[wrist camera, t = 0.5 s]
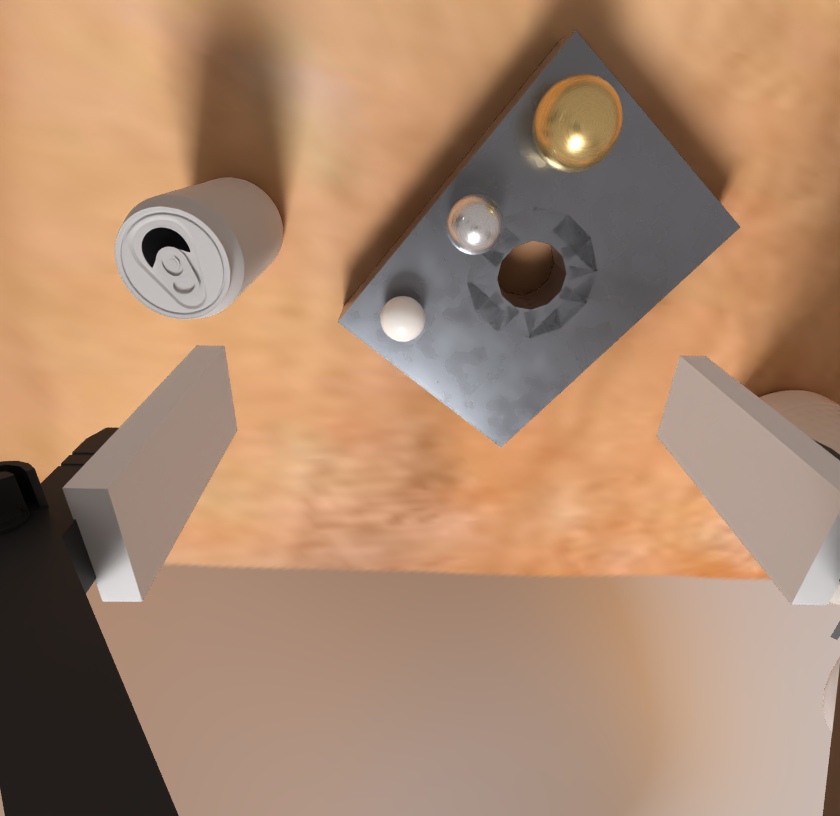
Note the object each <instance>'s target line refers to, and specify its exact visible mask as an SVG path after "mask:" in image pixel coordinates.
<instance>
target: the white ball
mask: <svg viewBox="0 0 840 816" xmlns="http://www.w3.org/2000/svg"><path fill="white" fill-rule="evenodd" d="M380 322H381V326H382V328H383V330H384V332H385V333H386V334H387V335H388V336H389V337H390V338H392V339H393V340H396V341H401V342H405V341H410V340H412V339H414V338H416V337H417V336H418V335H419V334H420V333H421V332H422V330H423V328H424V325H425V313H424V310H423V308H422V306H421V305H420V304H419V303H418V302H417V301H416V300H415V299H413V298H411V297H407V296H398V297H395V298H392V299H391V300H389V301H388V302H387V303H386V304H385V305H384V307H383V309H382V311H381V316H380Z"/></svg>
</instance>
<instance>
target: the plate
mask: <svg viewBox="0 0 840 816" xmlns="http://www.w3.org/2000/svg"><path fill="white" fill-rule="evenodd" d="M576 74H591V75H595V76H598V77H600V78H602V79H604V80H605V81H607V82H608V83H609V84H610V85H611V86H612V87H613V88H614V89H615V91H616V92H617V94H618V96H619V98H620V101H621V104H622V109H623V124H622V129H621V133H620V136H619V138H618V141H617V143H616V145H615V146H614V148H613V149H612V151H611V152H610V153H609V155H608V156H607V157H606V158H605V159H604V160H603V161H601V162H600V163H599V164H597V165H596V166H594V167H592V168H590V169H588V170H585V171H581V172H574V173H568V172H562V171H559V170H556V169H554V168H552V167H551V166H549V165H548V164H547V163H546V162H544V161H543V159H542V158H541V157H540V155H539V154H538V152H537V150H536V148H535V145H534V141H533V135H532V125H533V118H534V114H535V111H536V109H537V106H538V104H539V102H540V101H541V99H542V97H543V96H544V95H545V93H546V92H547V91H548V90H549V89H550V88H551V87H552V86H553V85H554V84H556V83H557V82H559V81H560V80H562V79H564V78H566V77H569V76H572V75H576ZM471 194H481V195H485V196H488V197H490V198H491V199H493V200H494V201H495V202H496V203H497V204H498V205H499V207H500V209H501V211H502V213H503V216H504V230H503V234H502V236H501V239H500V240H499V242H498V243H497V244H496V246H495V247H494V248H492V249H491V250H489V251H488V252H486V253H483V254H478V255H471V254H466V253H464V252H461V251H460V250H458V249H457V248H456V247H455V246H454V245H453V244H452V242H451V241H450V239H449V236H448V233H447V218H448V214H449V212H450V210H451V208H452V207H453V205H454V204H455V203H456V202H457V201H458V200H460V199H461V198H463V197H465V196H468V195H471ZM739 228H740V226H739V225H738V224H737V222H736V221H735V220H734V219H733V218H732V216H731V215H730V214H729V213H728V212H727V210H726V209H725V208H724V207H723V206H722V204H721V203H720V202H719V201H718V200H717V198H716V197H715V196H714V195H713V194H712V192H711V191H710V190H709V189H708V188H707V186H706V185H705V184H704V183H703V182H702V180H701V179H700V178H699V177H698V176H697V175H696V173H695V172H694V171H693V170H692V169H691V167H690V166H689V165H688V164H687V163H686V161H685V160H684V159H683V158H682V157H681V155H680V154H679V153H678V152H677V151H676V149H675V148H674V147H673V146H672V145H671V143H670V142H669V141H668V140H667V139H666V137H665V136H664V135H663V134H662V133H661V131H660V130H659V129H658V128H657V127H656V125H655V124H654V123H653V122H652V121H651V119H650V118H649V117H648V116H647V115H646V113H645V112H644V111H643V110H642V109H641V107H640V106H639V105H638V104H637V103H636V101H635V100H634V99H633V98H632V97H631V95H630V94H629V93H628V92H627V91H626V89H625V88H624V87H623V86H622V85H621V83H620V82H619V81H618V80H617V79H616V77H615V76H614V75H613V74H612V73H611V71H610V70H609V69H608V68H607V67H606V65H605V64H604V63H603V62H602V61H601V59H600V58H599V57H598V56H597V55H596V53H595V52H594V51H593V50H592V49H591V47H590V46H589V45H588V44H587V43H586V41H585V40H584V39H583V38H582V37H581V35H580V34H579V33H578V32H577V31H574V32H572V33H571V34H569V35H567V36H565V37H564V38H562V39H560V40H559V42H558V43H557V44H556V45H555V47H554V48H553V49H552V50H551V52H550V53H549V54H548V55H547V56H546V58H545V59H544V60H543V61H542V63H541V64H540V65H539V66H538V68H537V69H536V70H535V71H534V72H533V74H532V75H531V76H530V77H529V79H528V80H527V81H526V82H525V84H524V85H523V86H522V87H521V88H520V90H519V91H518V92H517V93H516V95H515V96H514V97H513V98H512V100H511V101H510V102H509V103H508V105H507V106H506V107H505V108H504V109H503V111H502V112H501V113H500V114H499V116H498V117H497V118H496V119H495V121H494V122H493V123H492V124H491V125H490V127H489V128H488V129H487V130H486V132H485V133H484V134H483V135H482V137H481V138H480V139H479V140H478V141H477V143H476V144H475V145H474V146H473V148H472V149H471V150H470V151H469V153H468V154H467V155H466V156H465V158H464V159H463V160H462V161H461V162H460V164H459V165H458V166H457V167H456V169H455V170H454V171H453V172H452V174H451V175H450V176H449V177H448V178H447V180H446V181H445V182H444V183H443V185H442V186H441V187H440V188H439V190H438V191H437V192H436V193H435V195H434V196H433V197H432V198H431V199H430V201H429V202H428V203H427V204H426V206H425V207H424V208H423V209H422V211H421V212H420V213H419V214H418V215H417V217H416V218H415V219H414V220H413V222H412V223H411V224H410V225H409V227H408V228H407V229H406V230H405V231H404V233H403V234H402V235H401V236H400V238H399V239H398V240H397V241H396V243H395V244H394V245H393V246H392V248H391V249H390V250H389V251H388V252H387V254H386V255H385V256H384V257H383V259H382V260H381V261H380V262H379V264H378V265H377V266H376V267H375V268H374V270H373V271H372V272H371V273H370V275H369V276H368V277H367V278H366V280H365V281H364V282H363V283H362V284H361V286H360V287H359V288H358V289H357V291H356V292H355V293H354V294H353V296H352V297H351V298H350V299H349V301H348V302H347V303H346V304H345V305H344V307H343V309H342V312H341V315H340V317H339V320H338V323H340V324H341V325H342V326H344V327H345V328H346V329H347V330H349V331H350V332H351V333H353V334H354V335H355V336H357V337H358V338H359V339H360V340H362V341H363V342H364V343H366V344H367V345H368V346H370V347H371V348H372V349H373V350H375V351H376V352H377V353H379V354H380V355H381V356H383V357H384V358H385V359H386V360H388V361H389V362H390V363H392V364H393V365H394V366H396V367H397V368H398V369H400V370H401V371H402V372H403V373H405V374H406V375H407V376H409V377H410V378H411V379H413V380H414V381H415V382H416V383H418V384H419V385H420V386H422V387H423V388H424V389H426V390H427V391H428V392H429V393H431V394H432V395H433V396H435V397H436V398H437V399H439V400H440V401H441V402H442V403H444V404H445V405H446V406H448V407H449V408H450V409H452V410H453V411H454V412H456V413H457V414H458V415H459V416H461V417H462V418H463V419H465V420H466V421H467V422H469V423H470V424H471V425H472V426H474V427H475V428H476V429H478V430H479V431H480V432H482V433H483V434H484V435H485V436H487V437H488V438H489V439H491V440H492V441H493V442H495V443H496V444H497V445H498V446H500V447H502V446H503V445H504V444H505V443H506V442H507V441H508V440H510V439H511V438H512V437H513V436H514V435H515V434H516V433H517V432H518V431H519V430H520V429H521V428H523V427H524V426H525V425H526V424H527V423H528V422H529V421H530V420H531V419H532V418H533V417H534V416H536V415H537V414H538V413H539V412H540V411H541V410H542V409H543V408H544V407H545V406H546V405H548V404H549V403H550V402H551V401H552V400H553V399H554V398H555V397H556V396H557V395H558V394H559V393H561V392H562V391H563V390H564V389H565V388H566V387H567V386H568V385H569V384H570V383H571V382H573V381H574V380H575V379H576V378H577V377H578V376H579V375H580V374H581V373H582V372H583V371H584V370H586V369H587V368H588V367H589V366H590V365H591V364H592V363H593V362H594V361H595V360H596V359H598V358H599V357H600V356H601V355H602V354H603V353H604V352H605V351H606V350H607V349H608V348H609V347H611V346H612V345H613V344H614V343H615V342H616V341H617V340H618V339H619V338H620V337H621V336H623V335H624V334H625V333H626V332H627V331H628V330H629V329H630V328H631V327H632V326H633V325H634V324H636V323H637V322H638V321H639V320H640V319H641V318H642V317H643V316H644V315H645V314H646V313H647V312H649V311H650V310H651V309H652V308H653V307H654V306H655V305H656V304H657V303H658V302H659V301H661V300H662V299H663V298H664V297H665V296H666V295H667V294H668V293H669V292H670V291H671V290H672V289H674V288H675V287H676V286H677V285H678V284H679V283H680V282H681V281H682V280H683V279H684V278H686V277H687V276H688V275H689V274H690V273H691V272H692V271H693V270H694V269H695V268H696V267H697V266H699V265H700V264H701V263H702V262H703V261H704V260H705V259H706V258H707V257H708V256H709V255H711V254H712V253H713V252H714V251H715V250H716V249H717V248H718V247H719V246H720V245H721V244H722V243H724V242H725V241H726V240H727V239H728V238H729V237H730V236H731V235H732V234H733V233H734V232H736V231H737V230H738V229H739ZM530 241H537V242H542V243H548V244H549V245H550V246H551V251H552V255H553V259H554V263H553V267H552V270H551V273H550V277H549V279H548V280H547V281H546V282H545V283H544V284H543V285H542V286H541V287H540V288H539V289H538V290H536V291H533V292H530V293H527V294H524V295H516V294H511V293H506V292H505V291H504V290H503V289H501V288H500V287H499V284H498V280H497V278H498V274H499V270H500V266H501V262H502V260H503V259H504V258H505V257H506V256H507V255H508V254H509V253H510V252H511V250H512V249H513V248H514V247H516V246H519V245H522V244H524V243H527V242H530ZM398 296H407V297H411V298H413V299H415V300H416V301H417V302H418V303H419V304H420V305H421V306H422V308H423V310H424V313H425V325H424V328H423V330H422V332H421V333H420V334H419V335H418V336H417V337H416V338H414V339H412V340H410V341H405V342H401V341H396V340H393V339H392V338H390V337H389V336H388V335H387V334H386V333H385V332H384V330H383V328H382V326H381V322H380V316H381V311H382V309H383V307H384V305H385V304H386V303H387V302H388V301H389V300H391V299H392V298H395V297H398Z"/></svg>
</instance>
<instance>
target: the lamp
mask: <svg viewBox="0 0 840 816" xmlns="http://www.w3.org/2000/svg"><path fill="white" fill-rule="evenodd" d="M759 398H760V399H761V400H762V401H764V402H765V403H766V404H768V405H769V406H770V407H771V408H773V409H774V410H775V411H777V412H778V413H779V414H780V415H782V416H783V417H784V418H786V419H787V420H788V421H789V422H791V423H792V424H793V425H795V426H796V427H797V428H798V429H800V430H801V431H802V432H804V433H805V434H806V435H807V436H809V437H810V438H811V439H813V440H815V441H817V442H819V443H821V444H823V445H825V446H827V447H829V448H831V449H833V450H834V451H836V452H837V453H838V454H840V405H839V404H837V403H835V402H834V401H832V400H830V399H828V398H827V397H825V396H822V395H820V394H817V393H814V392H810V391H804V390H786V391H779V392H774V393H770V394H766V395H764V396H761V397H759ZM829 603H831V604H835V605H840V584H839V585H838V587H837V589H836V591H835V592H834V594H833V596H832V598H831V600H830V601H829ZM839 667H840V658H839V659H838V661H837V663H836V664H835V666H834V667H833V669H832V671H831V673H830V676H829V678H828V681H827V684H826V687H825V691H824V700H823V709H824V714H825V720H826V722H827V724H828V726H829V728H830V730H831V732H832V729H833V721H834V712H835V703H836V694H837V685H838V676H839Z"/></svg>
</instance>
